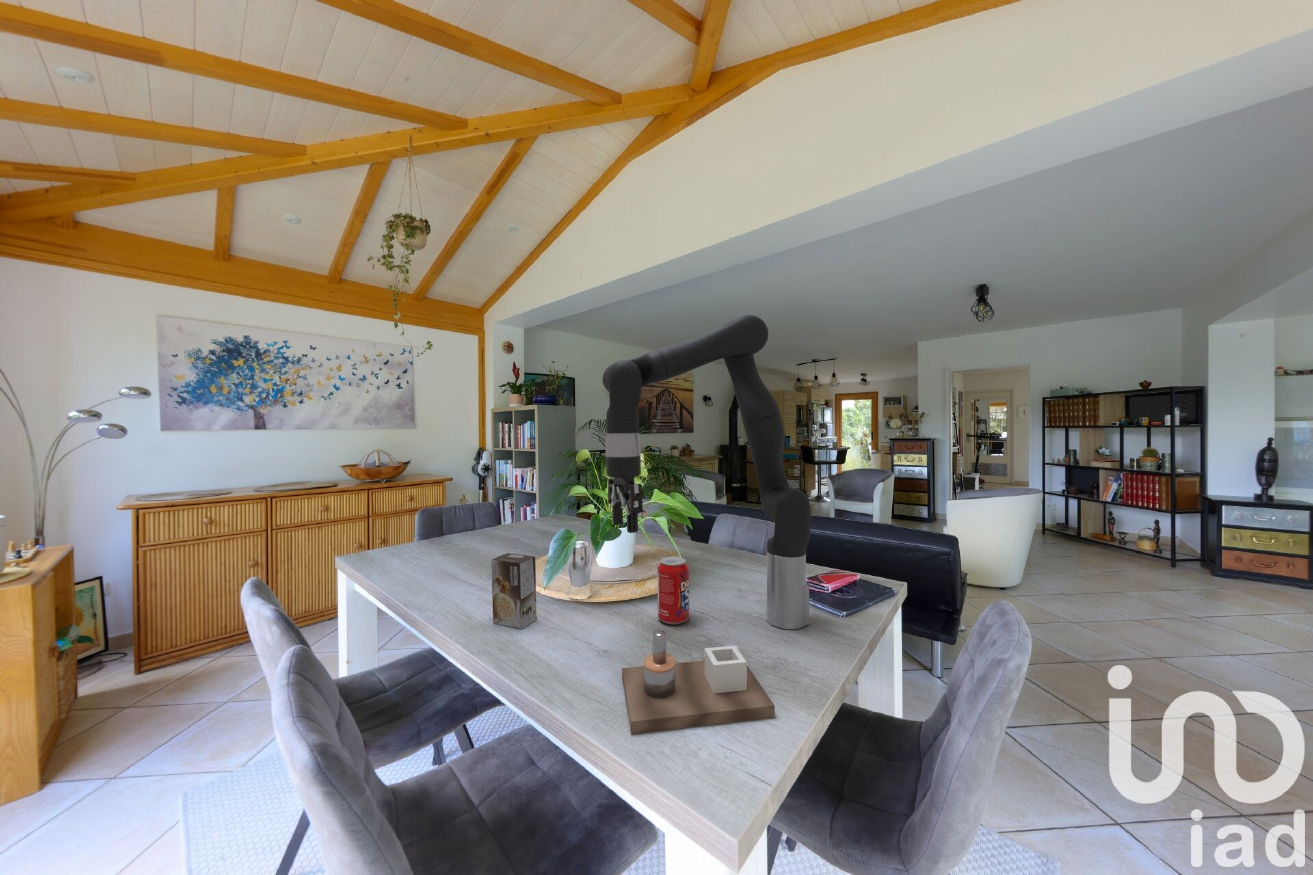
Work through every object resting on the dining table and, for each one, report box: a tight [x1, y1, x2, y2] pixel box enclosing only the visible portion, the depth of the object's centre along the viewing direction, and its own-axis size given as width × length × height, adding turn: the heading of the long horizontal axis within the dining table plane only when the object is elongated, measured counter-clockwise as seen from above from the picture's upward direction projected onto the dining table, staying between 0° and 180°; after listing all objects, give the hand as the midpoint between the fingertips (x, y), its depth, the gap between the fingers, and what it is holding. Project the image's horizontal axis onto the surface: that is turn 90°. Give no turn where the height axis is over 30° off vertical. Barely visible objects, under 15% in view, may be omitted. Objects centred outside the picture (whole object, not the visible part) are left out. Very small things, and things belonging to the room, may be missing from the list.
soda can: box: [657, 556, 690, 626], centre depth 114 cm, size 8×8×15 cm
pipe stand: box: [621, 629, 776, 735], centre depth 82 cm, size 24×16×12 cm, turn 99°
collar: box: [703, 645, 748, 693], centre depth 83 cm, size 6×6×5 cm
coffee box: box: [490, 552, 538, 630], centre depth 113 cm, size 9×6×16 cm
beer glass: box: [567, 540, 593, 587], centre depth 130 cm, size 7×7×15 cm
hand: (624, 528), depth 100 cm, fingers open, 8 cm apart
